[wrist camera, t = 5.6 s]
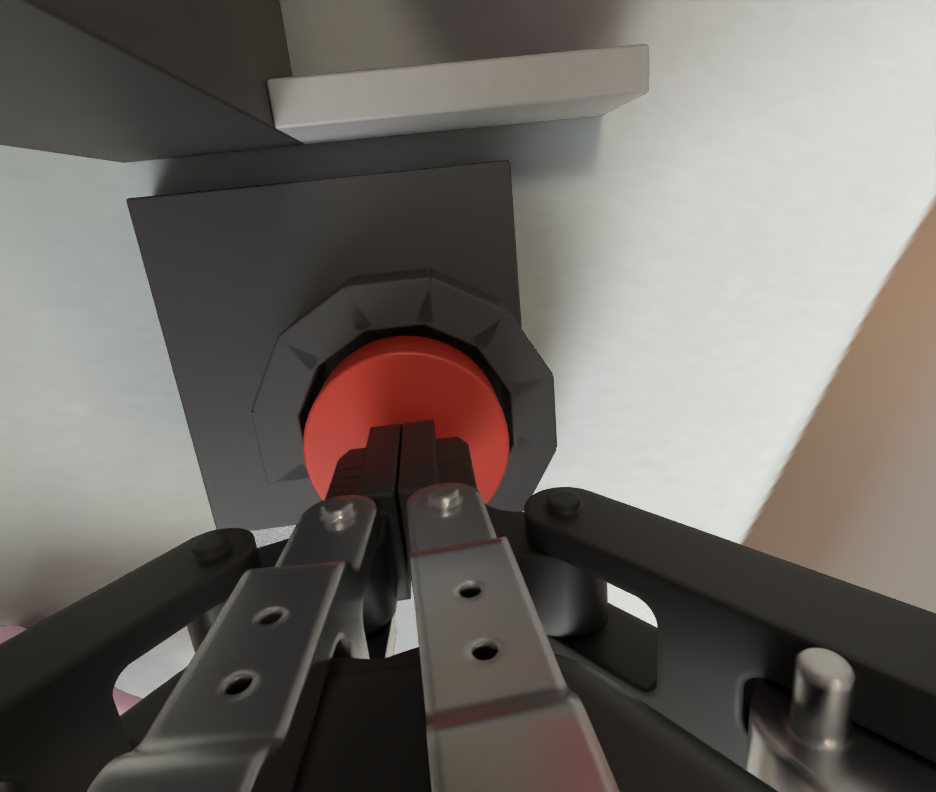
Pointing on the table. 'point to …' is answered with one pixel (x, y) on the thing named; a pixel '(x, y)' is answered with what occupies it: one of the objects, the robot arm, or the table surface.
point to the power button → (407, 406)
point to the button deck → (333, 315)
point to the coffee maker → (256, 83)
